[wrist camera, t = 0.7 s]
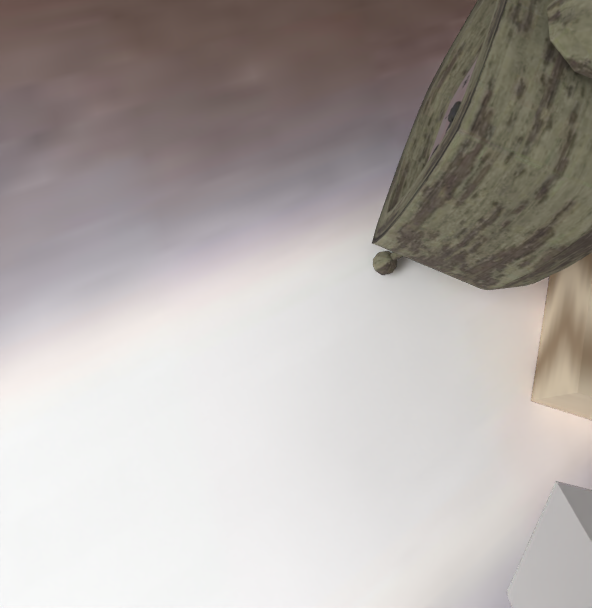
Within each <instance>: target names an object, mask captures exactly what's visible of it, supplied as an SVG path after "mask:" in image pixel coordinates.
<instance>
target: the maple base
mask: <svg viewBox="0 0 592 608" xmlns="http://www.w3.org/2000/svg"><path fill="white" fill-rule="evenodd" d="M531 401H532V402H536V403H539V404H542V405H545V406H548V407H552V408H555V409H558V410H561V411H564V412H567V413H571V414H574V415H577V416H580V417H583V418H587V419H590V420H592V253H591V254H589V255H587V256H586V257H584V258H582V259H581V260H579V261H577V262H576V263H574V264H572V265H571V266H569V267H567V268H565V269H563V270H561V271H559V272H557V273H555V274H552V275H550V277H549V284H548V290H547V297H546V304H545V310H544V317H543V324H542V330H541V337H540V344H539V351H538V357H537V364H536V371H535V377H534V384H533V391H532V397H531Z"/></svg>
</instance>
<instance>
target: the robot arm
mask: <svg viewBox="0 0 592 608" xmlns="http://www.w3.org/2000/svg"><path fill="white" fill-rule="evenodd" d="M507 595H508V598H509V601H510V604H511V607H512V608H592V490H589V489H586V488H582V487H578V486H574V485H570V484H566V483H562V482H558V481H556V483H555V485H554V487H553V489H552V492H551V494H550V496H549V498H548V501H547V503H546V505H545V507H544V510H543V512H542V514H541V516H540V519H539V521H538V523H537V525H536V528H535V530H534V532H533V534H532V537H531V539H530V541H529V543H528V545H527V548H526V550H525V552H524V554H523V557H522V559H521V561H520V563H519V566H518V568H517V570H516V572H515V575H514V577H513V579H512V581H511V584H510V586H509V588H508V590H507Z"/></svg>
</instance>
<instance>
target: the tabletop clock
mask: <svg viewBox="0 0 592 608" xmlns="http://www.w3.org/2000/svg"><path fill="white" fill-rule="evenodd" d="M372 243H373V244H376V245H378V246H381V247H383V248H385V249H388V250H390V251H392V252H393V253H390V252H389V251H384V252H379V253H378V254H377V255H376V256H375V257H374V259H373V267H374V269H375V271H377V272H378V273H380V274H381V275H385V274H390V273H392V272H393V271H394V269H395V268H396V266H397V259H399V258H401V257H403V256H404V257H407V258H409V259H411V260H414V261H416V262H419V263H421V264H423V265H426V266H428V267H431V268H433V269H435V270H438V271H440V272H442V273H445V274H447V275H450V276H452V277H454V278H457V279H459V280H461V281H464V282H466V283H469V284H471V285H473V286H476V287H478V288H481V289H485V290H493V289H501V288H510V287H519V286H525V285H529V284H533V283H535V282H537V281H540V280H542V279H544V278H546V277H548V276H550V275H552V274H555V273H557V272H559V271H561V270H563V269H565V268H567V267H569V266H571V265H572V264H574V263H576V262H577V261H579V260H581V259H582V258H584V257H586V256H587V255H589V254H591V253H592V0H478V1H477V3H476V4H475V6H474V8H473V9H472V11H471V13H470V15H469V16H468V18H467V20H466V22H465V23H464V25H463V27H462V28H461V30H460V32H459V34H458V35H457V37H456V39H455V41H454V42H453V44H452V46H451V48H450V49H449V51H448V53H447V55H446V56H445V58H444V60H443V62H442V64H441V66H440V67H439V69H438V71H437V73H436V75H435V77H434V79H433V81H432V83H431V85H430V86H429V88H428V90H427V93H426V95H425V98H424V100H423V102H422V105H421V107H420V109H419V112H418V114H417V117H416V119H415V122H414V124H413V127H412V130H411V132H410V135H409V138H408V140H407V143H406V145H405V148H404V151H403V153H402V156H401V159H400V161H399V164H398V167H397V169H396V172H395V175H394V178H393V181H392V183H391V186H390V189H389V192H388V195H387V198H386V200H385V203H384V206H383V209H382V212H381V215H380V218H379V221H378V224H377V227H376V230H375V234H374V238H373V241H372Z"/></svg>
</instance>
